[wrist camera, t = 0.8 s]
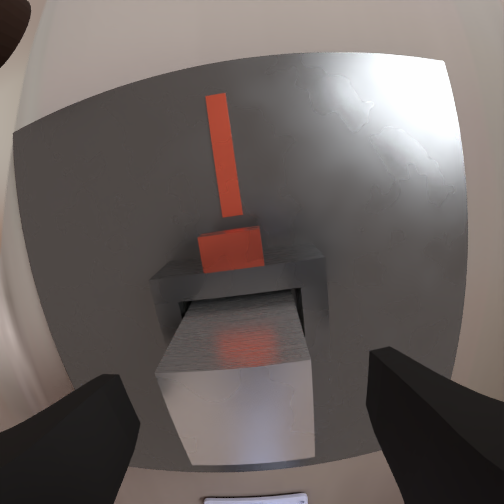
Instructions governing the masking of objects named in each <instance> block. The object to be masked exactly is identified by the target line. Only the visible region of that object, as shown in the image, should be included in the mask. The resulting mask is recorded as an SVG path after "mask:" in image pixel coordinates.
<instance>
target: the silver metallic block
mask: <svg viewBox="0 0 504 504" xmlns="http://www.w3.org/2000/svg"><path fill="white" fill-rule="evenodd" d="M155 376H156V379H157V381H158V384H159V387H160V390H161V392H162V395H163V398H164V400H165V403H166V405H167V408H168V411H169V413H170V416H171V418H172V420H173V423H174V425H175V428H176V430H177V432H178V435H179V437H180V439H181V442H182V444H183V446H184V448H185V451H186V453H187V455H188V457H189V459H190V461H191V464H192V465H241V464H258V463H270V462H281V461H289V460H297V459H304V458H311V457H315V437H314V408H313V386H312V368H311V358H310V354H309V351H308V347H307V344H306V340H305V337H304V333H303V330H302V326H301V323H300V320H299V316H298V313H297V309H296V306H295V302H294V299H293V296H292V292H291V289H284V290H277V291H269V292H262V293H254V294H246V295H238V296H229V297H221V298H212V299H203V300H193V301H192V303H191V305H190V306H189V308H188V310H187V312H186V314H185V316H184V318H183V319H182V321H181V323H180V325H179V327H178V329H177V331H176V333H175V335H174V336H173V338H172V340H171V342H170V344H169V346H168V348H167V350H166V352H165V354H164V356H163V357H162V359H161V361H160V363H159V365H158V367H157V369H156V371H155Z"/></svg>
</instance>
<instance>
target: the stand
mask: <svg viewBox="0 0 504 504" xmlns="http://www.w3.org/2000/svg"><path fill="white" fill-rule="evenodd" d="M13 150H14V166H15V178H16V187H17V196H18V203H19V210H20V217H21V223H22V228H23V234H24V239H25V244H26V248H27V253H28V257H29V262H30V266H31V270H32V274H33V277H34V281H35V285H36V288H37V292H38V295H39V298H40V302H41V305H42V308H43V311H44V314H45V317H46V320H47V323H48V326H49V329H50V331H51V334H52V337H53V339H54V342H55V345H56V347H57V350H58V352H59V355H60V357H61V360H62V362H63V364H64V367H65V369H66V371H67V373H68V376H69V378H70V380H71V382H72V384H73V386H74V389H75V390H76V389H78V388H79V387H81V386H82V385H84V384H86V383H87V382H89V381H90V380H92V379H94V378H96V377H98V376H100V375H102V374H119V375H120V378H121V380H122V383H123V385H124V387H125V390H126V392H127V394H128V397H129V399H130V401H131V403H132V406H133V408H134V410H135V412H136V414H137V416H138V419H139V421H140V423H141V424H140V429H139V433H138V438H137V442H136V446H135V450H134V453H133V455H132V458H131V460H130V463H129V466H131V467H138V468H146V469H156V470H168V471H183V472H247V471H263V470H275V469H284V468H293V467H301V466H308V465H314V464H320V463H326V462H331V461H337V460H342V459H346V458H351V457H355V456H360V455H364V454H368V453H372V452H376V451H379V450H382V449H381V447H380V445H379V442H378V440H377V438H376V436H375V433H374V431H373V427H372V424H371V421H370V418H369V414H368V411H367V408H366V395H367V383H368V368H369V351H370V350H375V349H379V348H384V347H388V346H390V347H392V348H394V349H396V350H398V351H400V352H401V353H403V354H405V355H407V356H408V357H410V358H412V359H413V360H415V361H417V362H419V363H420V364H422V365H424V366H426V367H427V368H429V369H431V370H433V371H435V372H436V373H438V374H440V375H442V376H444V377H446V378H448V379H450V380H451V375H452V371H453V367H454V362H455V357H456V352H457V347H458V341H459V335H460V329H461V322H462V315H463V306H464V297H465V287H466V274H467V253H468V211H467V191H466V177H465V167H464V158H463V150H462V143H461V136H460V130H459V124H458V118H457V113H456V108H455V103H454V99H453V94H452V90H451V86H450V82H449V78H448V74H447V70H446V67H445V63H444V61H439V60H432V59H426V58H418V57H410V56H401V55H390V54H377V53H355V52H317V53H294V54H280V55H269V56H260V57H251V58H243V59H236V60H230V61H223V62H218V63H212V64H207V65H201V66H196V67H192V68H187V69H183V70H178V71H174V72H170V73H166V74H162V75H158V76H154V77H151V78H147V79H144V80H140V81H137V82H134V83H130V84H127V85H124V86H121V87H118V88H115V89H112V90H109V91H106V92H103V93H100V94H98V95H95V96H92V97H90V98H87V99H85V100H82V101H80V102H77V103H75V104H72V105H70V106H67V107H65V108H63V109H61V110H58V111H56V112H54V113H52V114H49V115H47V116H45V117H43V118H41V119H39V120H37V121H35V122H33V123H31V124H29V125H27V126H25V127H23V128H21V129H19V130H17V131H16V132H14V133H13ZM284 289H291V292H292V296H293V299H294V302H295V306H296V309H297V313H298V316H299V320H300V323H301V326H302V330H303V333H304V337H305V340H306V344H307V347H308V351H309V354H310V358H311V368H312V386H313V408H314V437H315V457H311V458H304V459H297V460H289V461H281V462H270V463H258V464H241V465H192V464H191V461H190V459H189V457H188V455H187V453H186V451H185V448H184V446H183V444H182V442H181V439H180V437H179V435H178V432H177V430H176V428H175V425H174V423H173V420H172V418H171V416H170V413H169V411H168V408H167V405H166V403H165V400H164V398H163V395H162V392H161V390H160V387H159V384H158V381H157V379H156V376H155V371H156V369H157V367H158V365H159V363H160V361H161V359H162V357H163V356H164V354H165V352H166V350H167V348H168V346H169V344H170V342H171V340H172V338H173V336H174V335H175V333H176V331H177V329H178V327H179V325H180V323H181V321H182V319H183V318H184V316H185V314H186V312H187V310H188V308H189V306H190V305H191V303H192V301H193V300H203V299H212V298H221V297H229V296H238V295H246V294H254V293H262V292H269V291H277V290H284Z"/></svg>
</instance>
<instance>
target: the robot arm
mask: <svg viewBox="0 0 504 504" xmlns="http://www.w3.org/2000/svg"><path fill="white" fill-rule="evenodd" d="M366 408H367V411H368V414H369V418H370V421H371V424H372V427H373V431H374V433H375V436H376V438H377V440H378V442H379V445H380V447H381V449H382V451H383V454H384V456H385V458H386V460H387V462H388V464H389V467H390V469H391V471H392V473H393V476H394V478H395V480H396V482H397V485H398V487H399V489H400V492H401V494H402V497H403V500H404V503H405V504H504V402H502V401H499V400H496V399H493V398H490V397H487V396H485V395H482V394H480V393H477V392H475V391H473V390H471V389H469V388H466V387H464V386H462V385H460V384H458V383H456V382H454V381H452V380H450V379H448V378H446V377H444V376H442V375H440V374H438V373H436V372H435V371H433V370H431V369H429V368H427V367H426V366H424V365H422V364H420V363H419V362H417V361H415V360H413V359H412V358H410V357H408V356H407V355H405V354H403V353H401V352H400V351H398V350H396V349H394V348H392V347H390V346H388V347H384V348H379V349H375V350H370V351H369V368H368V383H367V395H366ZM140 424H141V423H140V421H139V419H138V416H137V414H136V412H135V410H134V408H133V406H132V403H131V401H130V399H129V397H128V394H127V392H126V390H125V387H124V385H123V383H122V380H121V378H120V375H119V374H102V375H100V376H98V377H96V378H94V379H92V380H90V381H89V382H87V383H86V384H84V385H82V386H81V387H79V388H78V389H76V390H75V391H73V392H71V393H70V394H68V395H67V396H65V397H64V398H62V399H61V400H59V401H57V402H56V403H54V404H53V405H51V406H50V407H48V408H46V409H44V410H43V411H41V412H39V413H38V414H36V415H34V416H32V417H31V418H29V419H27V420H26V421H24V422H22V423H20V424H18V425H16V426H14V427H12V428H10V429H7V430H5V431H3V432H1V433H0V504H114V501H115V499H116V496H117V493H118V491H119V488H120V486H121V483H122V481H123V478H124V476H125V473H126V471H127V468H128V466H129V463H130V460H131V458H132V455H133V453H134V450H135V446H136V442H137V438H138V433H139V429H140ZM204 504H308V499H307V494H305V493H298V494H289V495H280V496H268V497H251V498H206V499H204Z"/></svg>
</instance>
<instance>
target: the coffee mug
mask: <svg viewBox="0 0 504 504" xmlns="http://www.w3.org/2000/svg"><path fill="white" fill-rule="evenodd" d="M30 15H31V6H30V3H29V2H28V1H27V0H0V68H1V66H3V65H4V63H5V62H6V61H7V60H8V59H9V57H10V56H11V54H12V53H13V52H14V50H15V49H16V47H17V45H18V43H19V42H20V40H21V39H22V37H23V34H24V33H25V30H26V28H27V26H28V22H29V19H30Z"/></svg>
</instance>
